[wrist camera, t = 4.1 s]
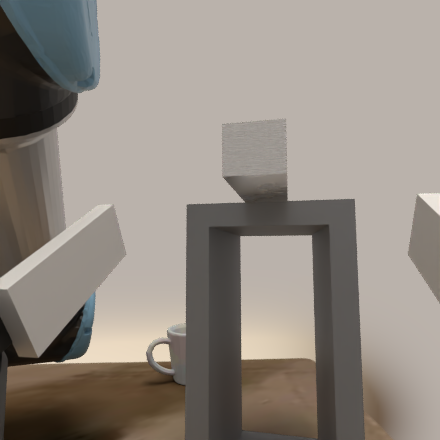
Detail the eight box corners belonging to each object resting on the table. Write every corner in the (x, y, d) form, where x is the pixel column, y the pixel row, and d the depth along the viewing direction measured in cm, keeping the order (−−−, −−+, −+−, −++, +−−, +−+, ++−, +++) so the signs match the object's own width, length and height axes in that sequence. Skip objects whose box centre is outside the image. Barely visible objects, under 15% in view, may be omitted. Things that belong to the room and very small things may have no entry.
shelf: (372, 615, 23) (354, 198, 26) (184, 576, 26) (186, 204, 29) (334, 453, 42) (326, 220, 44) (227, 440, 44) (226, 222, 47)
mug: (227, 382, 64) (227, 330, 65) (154, 399, 57) (155, 340, 58) (203, 366, 73) (203, 320, 74) (138, 379, 66) (139, 328, 67)
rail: (287, 173, 17) (285, 118, 17) (222, 176, 18) (222, 124, 18) (287, 219, 43) (287, 196, 43) (260, 219, 43) (260, 197, 44)
